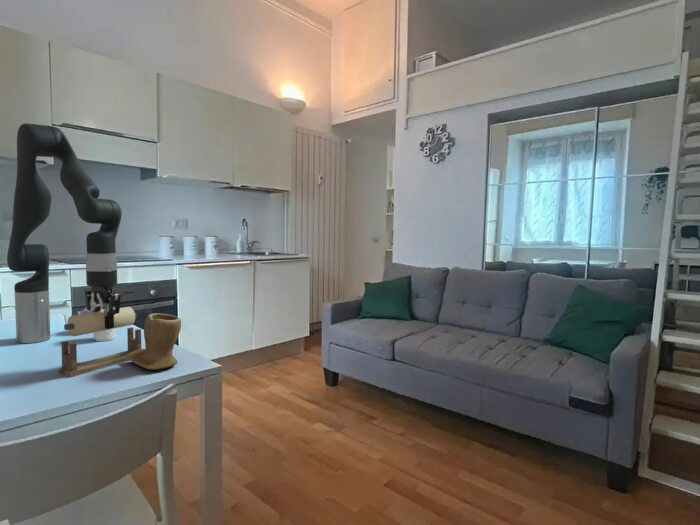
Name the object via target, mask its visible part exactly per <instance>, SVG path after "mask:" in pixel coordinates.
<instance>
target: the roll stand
mask: <svg viewBox="0 0 700 525" xmlns="http://www.w3.org/2000/svg"><path fill="white" fill-rule="evenodd" d="M126 330H127V331H126V333H127V350H124V351H121V352H120V351H119V352H116V353H114V354H109V355H105V356H102V357H99V358H94V359H89V360H87V361H82V362H79V363H78V359H77V358H78V356H77V354H78V353H77V352H78V351H77V350H78V349H77V343H74V342H72V343H69V341H67V340H63V341H61V344H60V346H61V347H60V348H61V367H60V368H59V367H58V373H59V374H61V375H64V376H68V377H69V378H72V377H76V376H79V375H84V374H87V373H91V372H93V371H97V370H101V369H104V368H107V367H112V366H115V365H118V364H122V363H125V362H129V361H130V360H129V359H127V358H126V355H127V354H128V353H130V352H132V351H135V350H139V349H142V329H140V328H139V329H134V327H127V329H126Z"/></svg>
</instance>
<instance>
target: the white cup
mask: <svg viewBox="0 0 700 525" xmlns="http://www.w3.org/2000/svg"><path fill="white" fill-rule="evenodd" d="M107 309H108V310H109V308H107ZM101 311H104V310H103V309H102V310H101ZM117 329H118V328H114V329H109V330H104V331H99V332H94V333H93V340H94V341H95V340H96V342H107V340H108V341H112V340H115V339H116V338H117V332H118V331H117Z"/></svg>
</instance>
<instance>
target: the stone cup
mask: <svg viewBox="0 0 700 525" xmlns="http://www.w3.org/2000/svg"><path fill="white" fill-rule="evenodd" d="M143 325H144V326H143V327H144V328H143V338H144V343H145V348H141V349H139V350H135V351H132V352H130V353H128V354H127V355H126V358H127V359H129V361H130V362H132V363H133V364H135V365H137V366H140V367H141V368H143V369H146V370H162V369H167V368H170V367H173V366H175V365H177V364H178V359H177V358H176V357H175V356H174V355H173V350H174V347H175V344H176V342H177V339H178V337H179V335H180V333H181V329H182V319H181V318H180V317H179V316H176V315H173V314H167V313H158V312H155V313H149V314H148V315H147V316H146V317H145V320H144V324H143Z"/></svg>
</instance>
